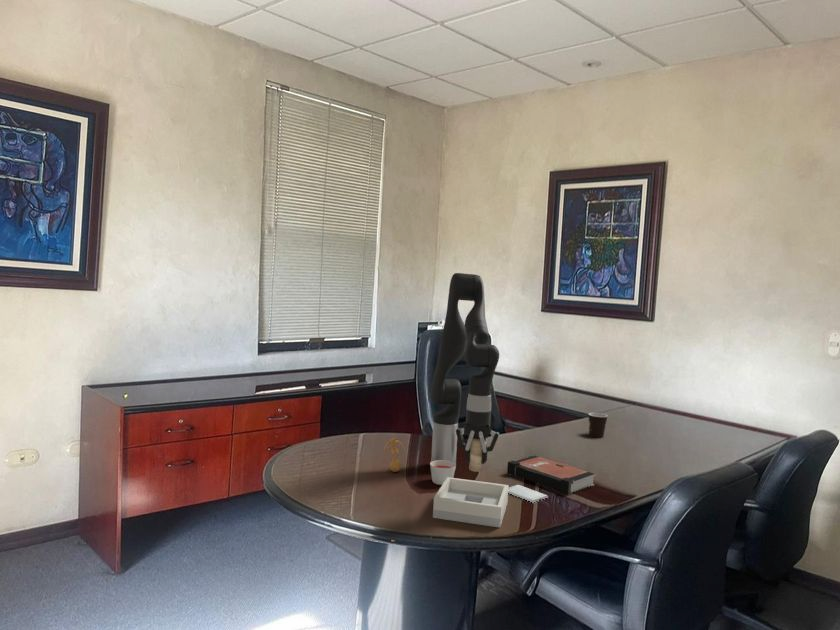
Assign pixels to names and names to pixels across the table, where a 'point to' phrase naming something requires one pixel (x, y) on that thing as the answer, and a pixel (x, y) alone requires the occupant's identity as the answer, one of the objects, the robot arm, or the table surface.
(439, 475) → the white cup
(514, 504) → the table surface
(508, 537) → the table surface
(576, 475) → the book
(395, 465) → the figurine
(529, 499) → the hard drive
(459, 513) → the tray
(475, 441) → the peg
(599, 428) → the coffee mug
